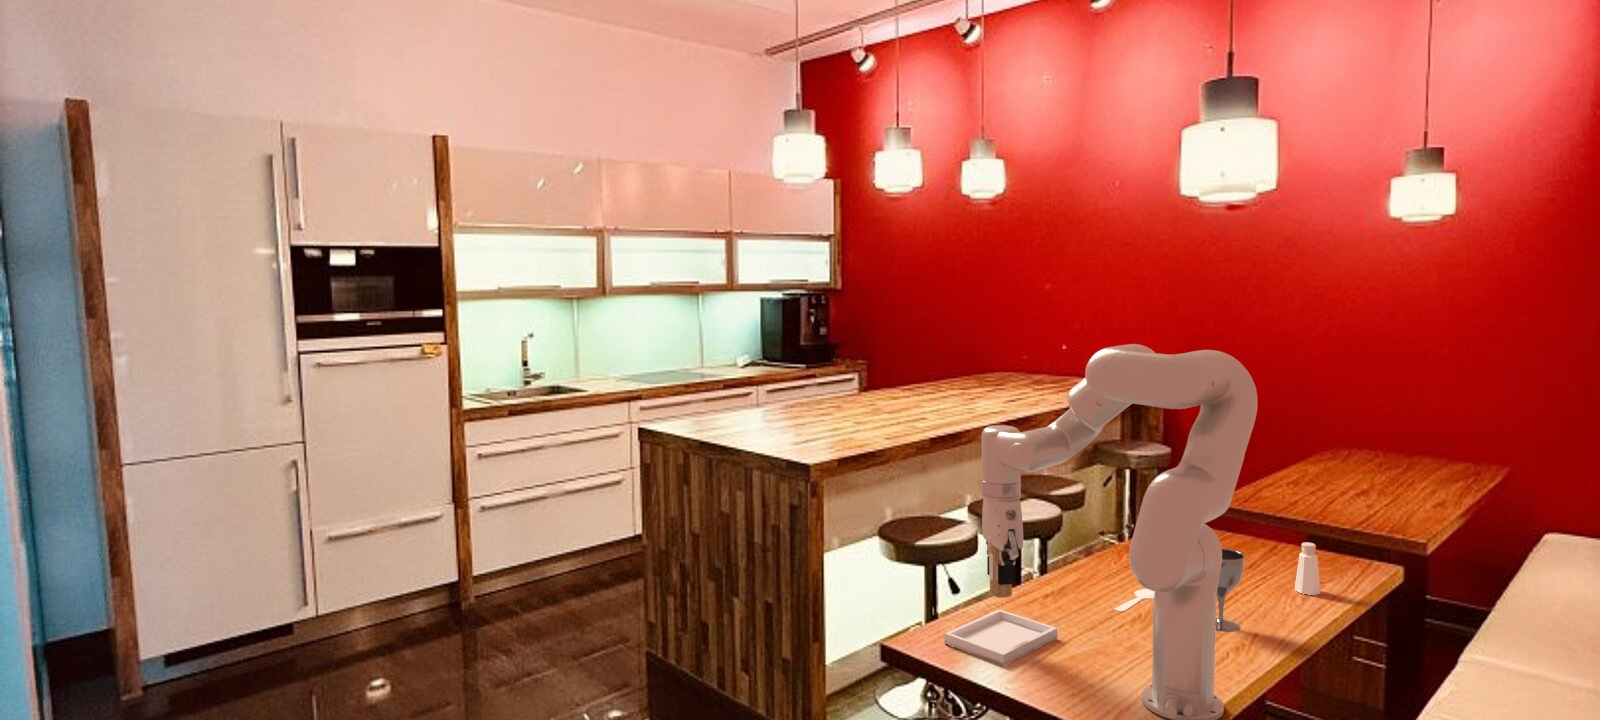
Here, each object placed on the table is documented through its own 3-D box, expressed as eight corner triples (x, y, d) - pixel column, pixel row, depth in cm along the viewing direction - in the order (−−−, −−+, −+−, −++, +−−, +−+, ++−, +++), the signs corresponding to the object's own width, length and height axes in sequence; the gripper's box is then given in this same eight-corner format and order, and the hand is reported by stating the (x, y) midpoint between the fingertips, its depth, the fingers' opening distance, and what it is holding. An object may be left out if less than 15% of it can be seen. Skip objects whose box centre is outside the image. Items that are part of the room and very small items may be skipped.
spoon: (1105, 609, 193) (1105, 606, 193) (1144, 588, 205) (1144, 585, 205) (1129, 615, 189) (1129, 613, 189) (1167, 593, 202) (1167, 591, 202)
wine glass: (1205, 614, 188) (1207, 545, 187) (1246, 623, 183) (1248, 552, 182) (1194, 626, 182) (1196, 555, 181) (1236, 635, 177) (1238, 562, 176)
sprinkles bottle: (1007, 600, 173) (1007, 532, 172) (985, 595, 176) (985, 529, 174) (1015, 592, 177) (1016, 527, 175) (993, 588, 179) (994, 523, 178)
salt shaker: (1289, 591, 201) (1290, 543, 200) (1300, 585, 204) (1301, 538, 203) (1314, 597, 196) (1316, 549, 195) (1325, 591, 200) (1327, 544, 199)
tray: (1003, 666, 166) (1003, 654, 166) (944, 644, 176) (944, 633, 176) (1057, 638, 178) (1057, 627, 177) (999, 619, 188) (999, 609, 188)
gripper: (1038, 498, 166) (1037, 593, 168) (1001, 478, 183) (1001, 564, 185) (1000, 501, 165) (999, 596, 167) (967, 480, 182) (966, 567, 183)
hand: (1000, 578), depth 176 cm, fingers closed on sprinkles bottle, 4 cm apart
